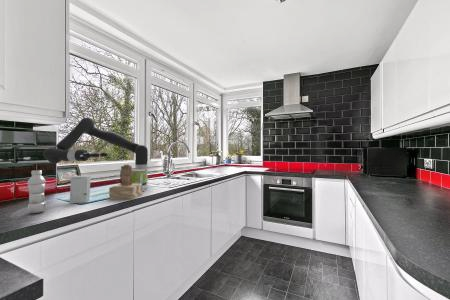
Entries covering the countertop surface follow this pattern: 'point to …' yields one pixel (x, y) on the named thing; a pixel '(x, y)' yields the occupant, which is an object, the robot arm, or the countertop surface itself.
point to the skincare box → (80, 189)
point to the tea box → (138, 177)
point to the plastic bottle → (36, 192)
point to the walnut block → (126, 175)
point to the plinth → (125, 191)
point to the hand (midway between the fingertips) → (103, 154)
